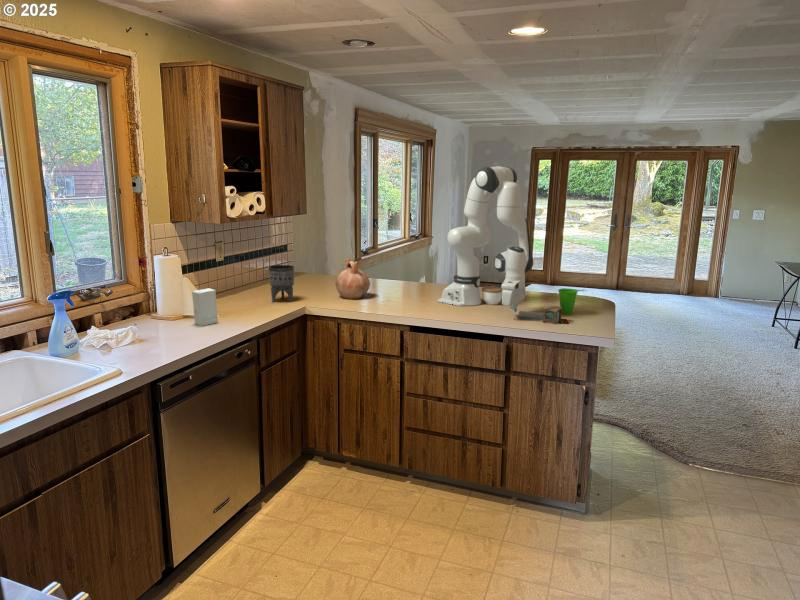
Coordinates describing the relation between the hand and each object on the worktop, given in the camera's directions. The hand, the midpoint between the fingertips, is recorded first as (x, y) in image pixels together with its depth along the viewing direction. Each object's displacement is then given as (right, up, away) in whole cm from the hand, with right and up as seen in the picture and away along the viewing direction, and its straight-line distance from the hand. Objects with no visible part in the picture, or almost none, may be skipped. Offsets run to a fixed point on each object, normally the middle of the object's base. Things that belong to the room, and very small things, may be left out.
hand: (513, 312), depth 262 cm
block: (+16, -4, -9) cm, 19 cm away
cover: (+15, -4, -9) cm, 18 cm away
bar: (+8, -3, -4) cm, 10 cm away
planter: (-113, +5, +29) cm, 117 cm away
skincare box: (-137, -5, -17) cm, 138 cm away
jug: (-78, +7, +39) cm, 87 cm away
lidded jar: (-6, +4, +26) cm, 27 cm away
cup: (+26, -1, +6) cm, 27 cm away
